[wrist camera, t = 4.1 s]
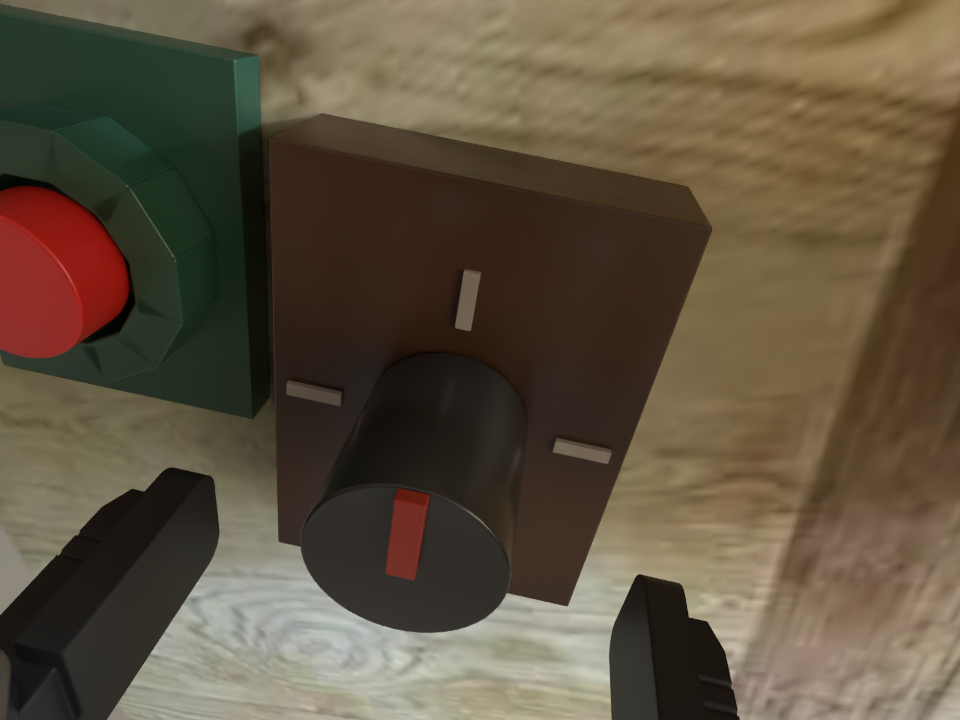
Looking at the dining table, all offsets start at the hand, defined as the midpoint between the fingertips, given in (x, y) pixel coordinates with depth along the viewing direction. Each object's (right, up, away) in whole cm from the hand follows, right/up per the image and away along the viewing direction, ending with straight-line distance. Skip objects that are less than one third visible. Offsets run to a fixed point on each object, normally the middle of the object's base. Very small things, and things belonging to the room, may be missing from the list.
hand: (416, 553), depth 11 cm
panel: (+1, +4, +6) cm, 7 cm away
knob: (0, +2, +4) cm, 4 cm away
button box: (-9, +7, +6) cm, 13 cm away
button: (-9, +6, +3) cm, 11 cm away
